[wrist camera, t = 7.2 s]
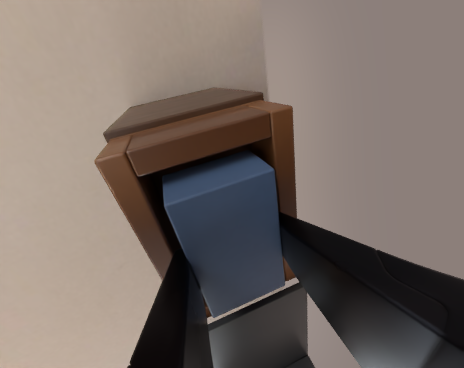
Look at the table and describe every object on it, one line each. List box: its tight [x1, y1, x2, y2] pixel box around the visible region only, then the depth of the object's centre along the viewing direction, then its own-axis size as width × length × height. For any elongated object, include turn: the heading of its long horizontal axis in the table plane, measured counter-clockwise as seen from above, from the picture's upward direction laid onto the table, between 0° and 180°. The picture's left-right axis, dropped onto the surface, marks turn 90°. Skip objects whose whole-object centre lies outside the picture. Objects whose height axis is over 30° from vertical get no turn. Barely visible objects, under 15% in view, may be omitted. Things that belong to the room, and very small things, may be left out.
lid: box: [208, 282, 315, 368], centre depth 11 cm, size 8×6×2 cm
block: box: [162, 150, 285, 318], centre depth 8 cm, size 6×3×2 cm, turn 11°
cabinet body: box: [103, 88, 264, 143], centre depth 13 cm, size 9×6×8 cm
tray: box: [95, 100, 297, 318], centre depth 9 cm, size 8×6×2 cm
